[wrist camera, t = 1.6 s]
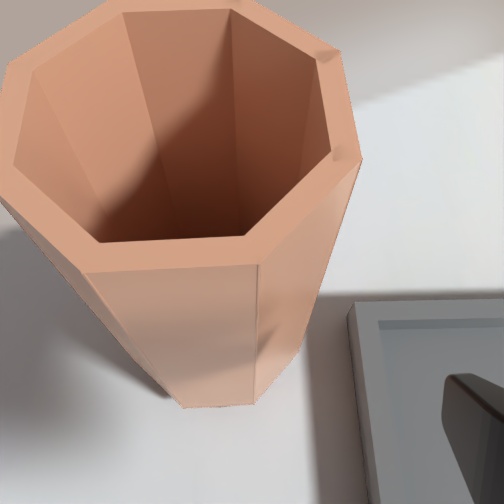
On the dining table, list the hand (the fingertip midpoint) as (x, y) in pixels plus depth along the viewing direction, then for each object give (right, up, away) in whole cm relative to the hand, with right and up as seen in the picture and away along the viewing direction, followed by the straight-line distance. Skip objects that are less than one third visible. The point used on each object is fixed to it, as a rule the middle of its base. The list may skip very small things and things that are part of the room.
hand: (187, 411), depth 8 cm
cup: (0, -1, +12) cm, 12 cm away
